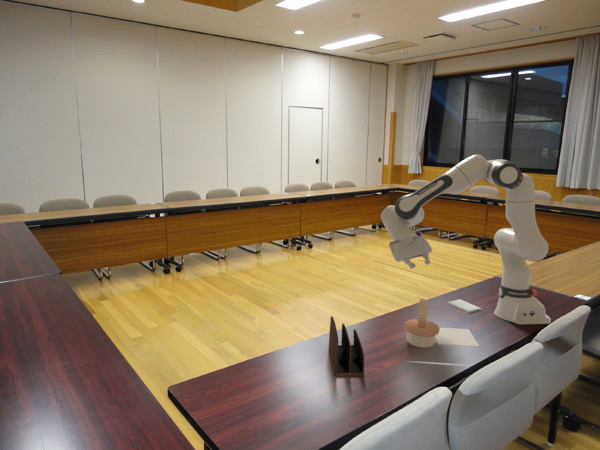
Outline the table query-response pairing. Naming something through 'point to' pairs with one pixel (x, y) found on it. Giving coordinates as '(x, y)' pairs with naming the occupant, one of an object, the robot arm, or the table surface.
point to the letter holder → (345, 353)
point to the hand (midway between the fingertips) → (421, 265)
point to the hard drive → (464, 306)
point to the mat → (456, 337)
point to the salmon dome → (422, 323)
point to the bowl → (420, 340)
